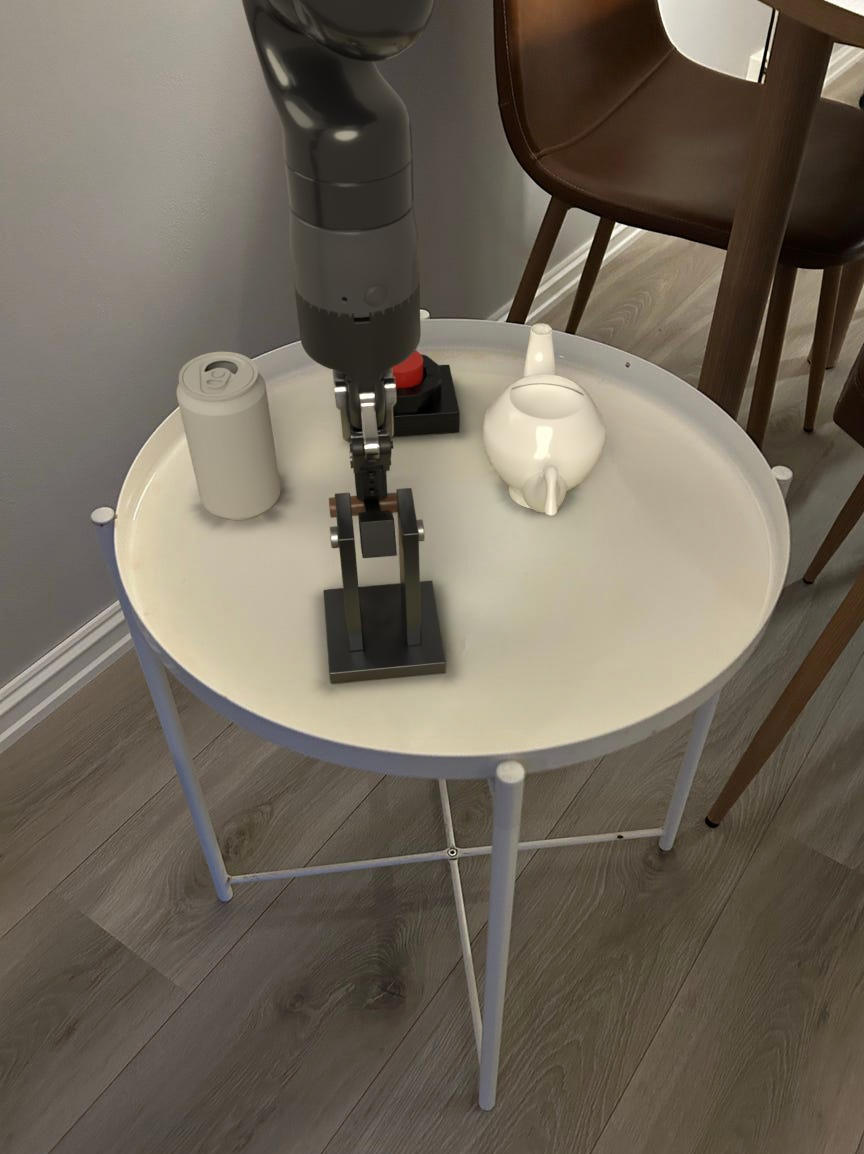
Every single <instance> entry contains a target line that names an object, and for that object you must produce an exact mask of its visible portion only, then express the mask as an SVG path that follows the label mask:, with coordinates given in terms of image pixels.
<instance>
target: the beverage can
mask: <svg viewBox="0 0 864 1154" xmlns="http://www.w3.org/2000/svg"><path fill="white" fill-rule="evenodd" d="M176 399H177V403H178V407H179V411H180V416H181V420H182V425H183V429H184V434H185V437H186V443H187V447H188V452H189V456H190V460H191V465H192V469H193V473H194V477H195V482H196V486H197V491H198V496H199V500H200V502H201V504H202V506H203V507H204V508H205V509H206V510H207V511H208V512H209V513H210V514H213V515H215V516H217V517H220V518H223V519H226V520H232V521H246V520H250V519H254V518H255V517H257V516H259V515H261V514H264V513H265V512H266V511H268V510H269V509H271V508H272V507H273V506H274V505H275V504H276V502H277V501H278V500H279V498H280V496H281V490H282V485H281V479H280V472H279V465H278V459H277V452H276V445H275V439H274V432H273V425H272V418H271V413H270V406H269V405H270V404H269V400H268V392H267V386H266V381H265V378H264V377H263V376H262V374H261V373H259V368H258V366H257V364H256V363H255V361H253V360H252V358H250V357H248V356H246V355H244V354H241V353H237V352H232V351H213V352H207V353H204V354H201V355H199V356H198V355H197V356H196V357H194V358H192V359H190V360H189V361H188V362H186V363H185V364H184V365H183V366H182V367H181V368H180V371H179V373H178V384H177V387H176Z"/></svg>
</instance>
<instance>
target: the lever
mask: <svg viewBox="0 0 864 1154" xmlns="http://www.w3.org/2000/svg"><path fill="white" fill-rule="evenodd" d="M350 498H351V508H352V517H358V518H357V519H358V529H359V530H358V531H359V540H360V550H361V556H362V557H361V558H362V559H373V558H374V559H375V558H385V557H396V556H398V551H397V550H398V549H397V539H396V537H397V536H396V525H395V524H396V523H395V517H394V514H397V492H387V497H386V498H385V499H383V500H369V501H360V500H358V499H357V496H356V495H350ZM328 507H329V508H328V509H329V517H330V519H332V518H333V519H334V518H336V506H335V496H334V497H328Z"/></svg>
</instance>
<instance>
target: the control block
mask: <svg viewBox="0 0 864 1154" xmlns="http://www.w3.org/2000/svg"><path fill="white" fill-rule="evenodd" d="M420 354H421V355H422V357H423V380H422V382H421V383H420V384H418V385H416V386H414V387H408V388H396V398H397V402H396V404H395V405H394V406H393V421H394V435H393V437H392V438H399V437H415V436H416V437H417V436H428V435H442V434H443V435H445V434H457V433H460V427H461V426H460V420H461V415H460V414H461V411H460V406H459V403H458V399H457V398H458V397H457V393H456V388H455V384H454V380H453V375H452V370H451V365H450V364H438V363H437V362H436V361H434V360H433V359H432V358H430V356H428V355H426V354H422V353H420Z"/></svg>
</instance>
